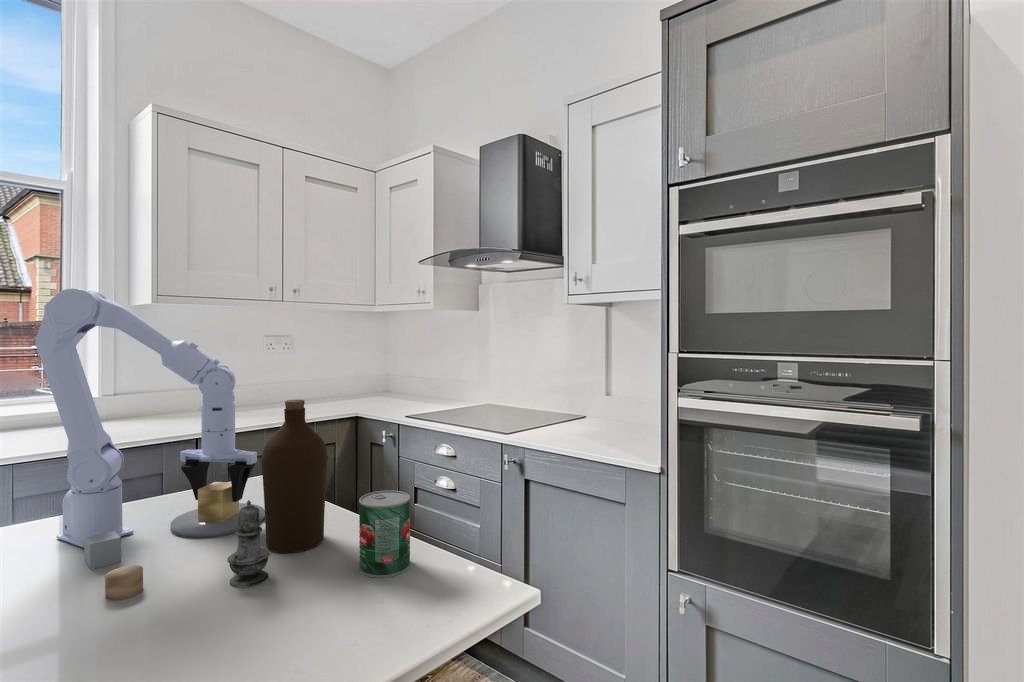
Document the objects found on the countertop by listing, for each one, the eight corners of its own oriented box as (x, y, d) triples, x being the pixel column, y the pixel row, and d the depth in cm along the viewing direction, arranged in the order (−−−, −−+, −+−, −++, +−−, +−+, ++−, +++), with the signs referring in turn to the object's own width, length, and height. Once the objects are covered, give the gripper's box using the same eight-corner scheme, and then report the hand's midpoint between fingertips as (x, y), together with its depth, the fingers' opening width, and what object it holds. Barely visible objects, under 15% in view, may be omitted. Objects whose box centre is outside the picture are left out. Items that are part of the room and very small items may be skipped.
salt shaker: (253, 590, 78) (253, 507, 78) (217, 586, 80) (217, 504, 79) (278, 572, 84) (278, 495, 84) (245, 568, 85) (244, 492, 85)
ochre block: (198, 520, 103) (197, 489, 103) (215, 511, 108) (215, 481, 108) (222, 522, 102) (222, 490, 102) (239, 513, 107) (238, 482, 107)
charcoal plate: (151, 527, 102) (151, 522, 102) (230, 503, 116) (230, 498, 116) (205, 544, 95) (205, 538, 95) (282, 515, 109) (282, 511, 109)
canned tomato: (420, 566, 87) (420, 497, 86) (377, 583, 81) (377, 509, 81) (391, 551, 92) (391, 487, 92) (349, 566, 86) (349, 497, 86)
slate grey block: (84, 562, 87) (84, 537, 87) (114, 554, 90) (114, 530, 90) (90, 569, 85) (89, 544, 85) (121, 561, 88) (120, 537, 88)
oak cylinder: (98, 596, 77) (98, 575, 77) (132, 583, 81) (132, 563, 80) (115, 603, 75) (115, 582, 75) (149, 589, 79) (149, 569, 78)
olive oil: (292, 560, 89) (291, 406, 88) (248, 547, 93) (247, 402, 93) (340, 537, 98) (340, 399, 97) (297, 527, 103) (297, 395, 102)
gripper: (168, 432, 102) (168, 504, 102) (241, 434, 100) (241, 507, 100) (194, 425, 109) (194, 492, 109) (263, 427, 107) (263, 495, 107)
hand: (218, 499), depth 105 cm, fingers open, 7 cm apart
